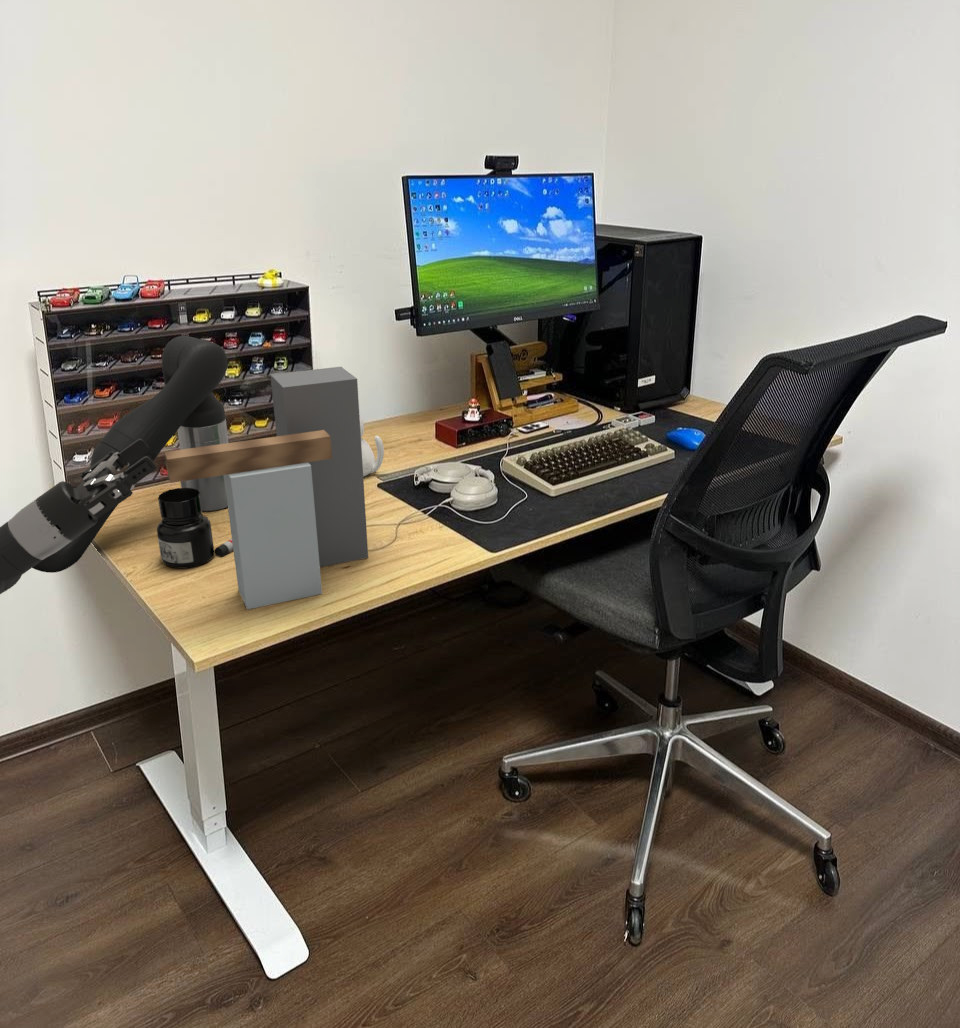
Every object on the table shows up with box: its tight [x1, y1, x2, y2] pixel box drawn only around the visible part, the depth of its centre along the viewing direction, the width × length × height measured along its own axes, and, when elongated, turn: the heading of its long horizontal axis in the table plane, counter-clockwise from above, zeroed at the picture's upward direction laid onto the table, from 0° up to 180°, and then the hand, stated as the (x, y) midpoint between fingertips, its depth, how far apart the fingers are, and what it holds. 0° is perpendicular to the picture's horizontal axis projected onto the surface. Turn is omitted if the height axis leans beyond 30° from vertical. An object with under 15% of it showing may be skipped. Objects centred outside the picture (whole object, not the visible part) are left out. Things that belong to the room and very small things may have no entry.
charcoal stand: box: [270, 366, 369, 568], centre depth 151 cm, size 12×9×32 cm
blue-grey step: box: [224, 462, 323, 610], centre depth 140 cm, size 12×7×22 cm, turn 115°
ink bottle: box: [156, 487, 215, 569], centre depth 153 cm, size 10×9×12 cm
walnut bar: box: [164, 430, 332, 484], centre depth 134 cm, size 24×4×4 cm, turn 115°
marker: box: [214, 538, 234, 557], centre depth 163 cm, size 15×2×2 cm, turn 154°
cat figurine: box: [359, 414, 385, 478], centre depth 191 cm, size 9×12×15 cm
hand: (148, 452), depth 127 cm, fingers open, 8 cm apart
